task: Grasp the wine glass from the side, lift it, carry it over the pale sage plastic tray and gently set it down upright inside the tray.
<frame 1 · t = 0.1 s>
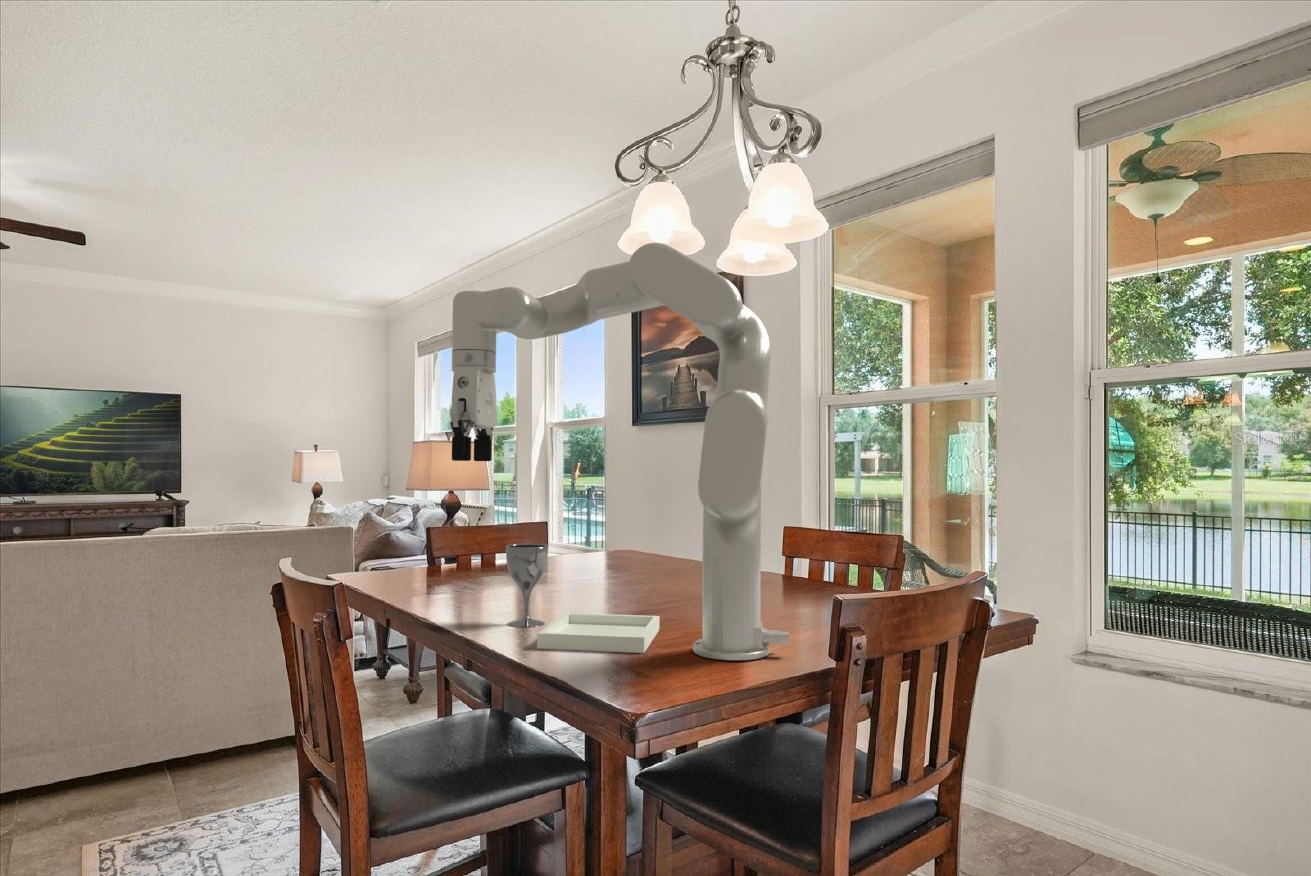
hand: (472, 460, 133), 31 cm above the table, tool pointing down, fingers open, 9 cm apart
wine glass: (526, 624, 146), on the table
tray: (601, 638, 134), on the table
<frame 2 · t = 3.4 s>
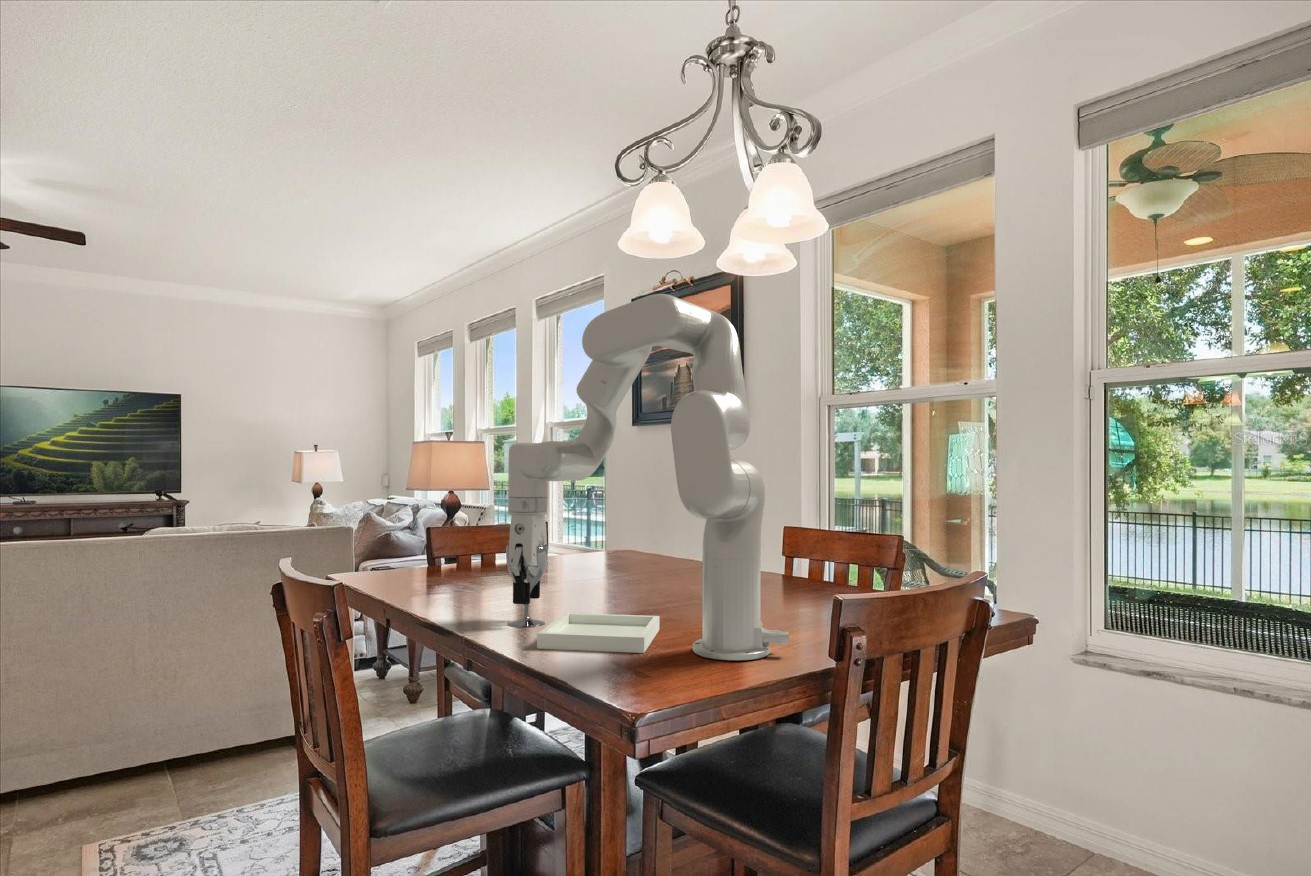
hand: (526, 600, 147), 4 cm above the table, tool pointing down, fingers closed on wine glass, 5 cm apart
wine glass: (526, 624, 146), on the table, touching gripper
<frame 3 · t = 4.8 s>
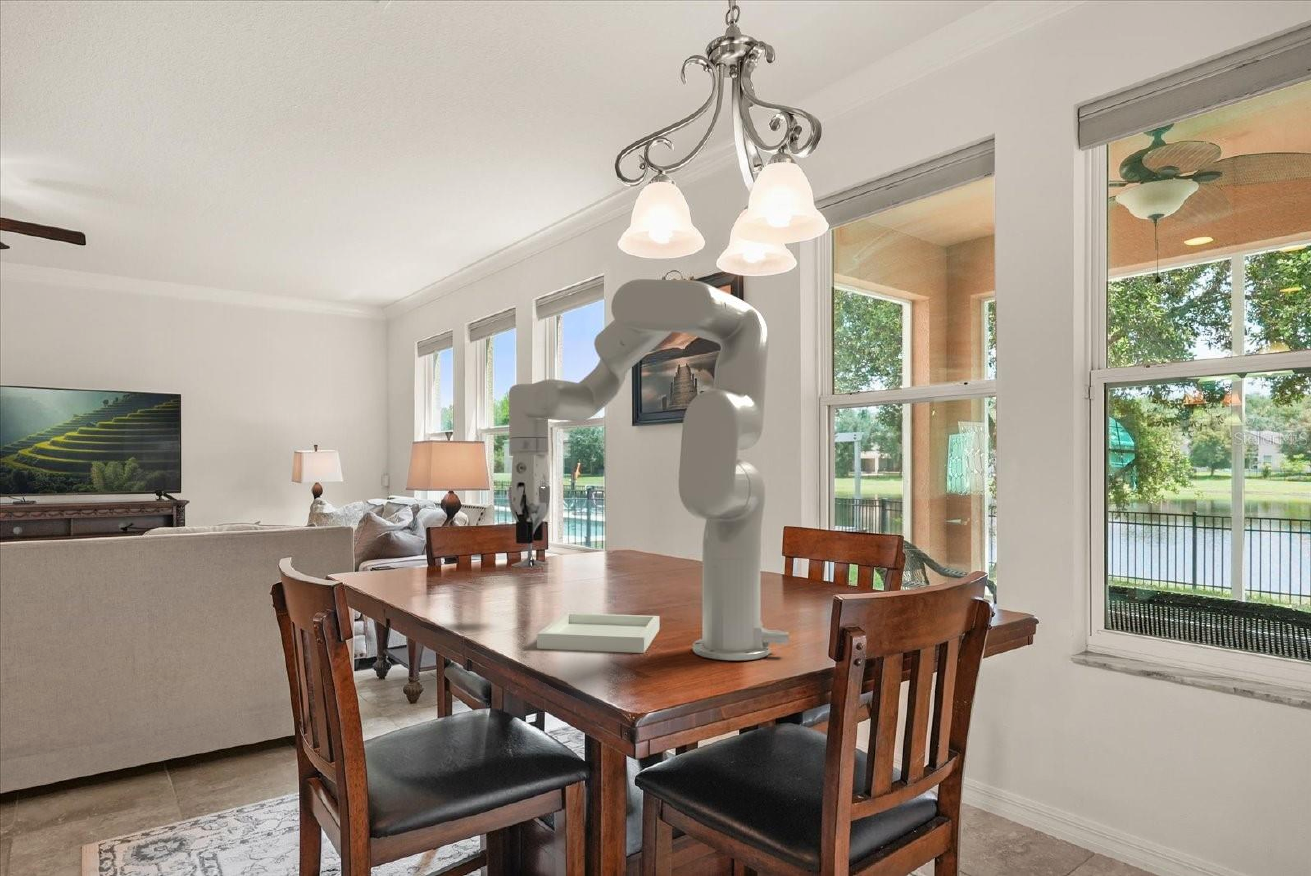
hand: (529, 540, 147), 16 cm above the table, tool pointing down, fingers closed on wine glass, 5 cm apart
wine glass: (530, 565, 146), point 11 cm above the table, touching gripper
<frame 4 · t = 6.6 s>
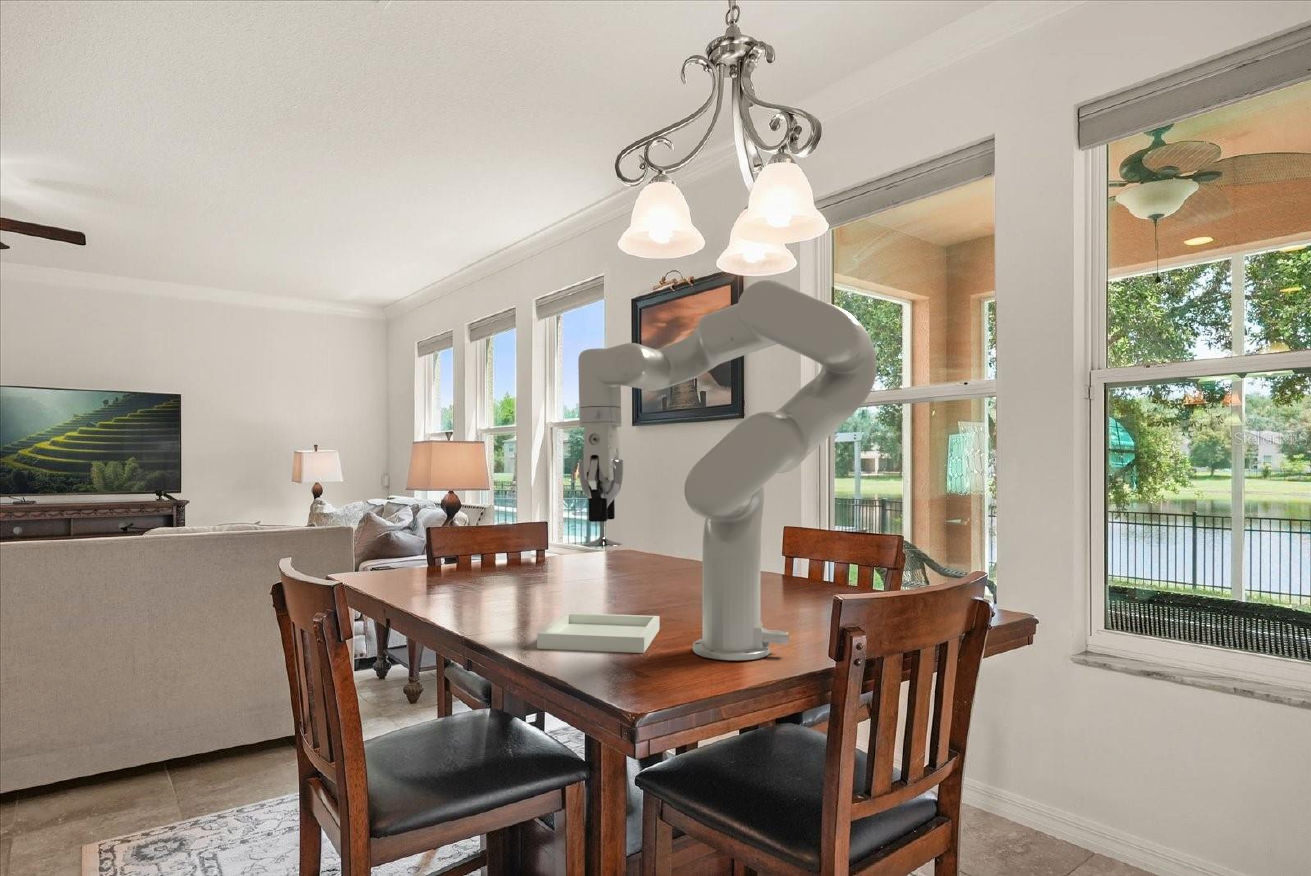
hand: (602, 519, 135), 21 cm above the table, tool pointing down, fingers closed on wine glass, 5 cm apart
wine glass: (602, 545, 135), point 16 cm above the table, touching gripper
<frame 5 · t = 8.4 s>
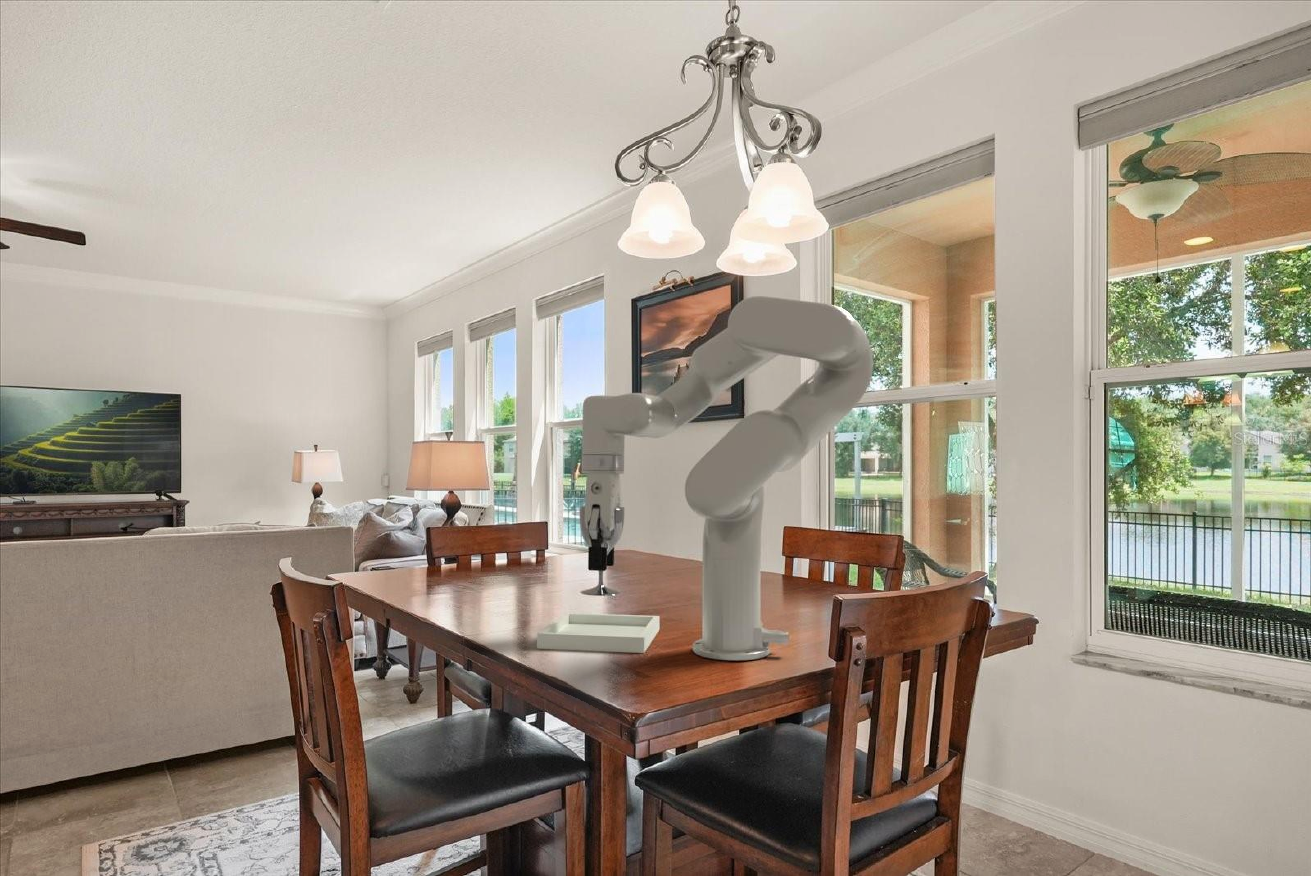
hand: (601, 566, 135), 13 cm above the table, tool pointing down, fingers closed on wine glass, 5 cm apart
wine glass: (600, 593, 134), point 8 cm above the table, touching gripper
when the fingers open (7 cm above the table, at t = 9.9 s): wine glass drops 2 cm, resting on tray.
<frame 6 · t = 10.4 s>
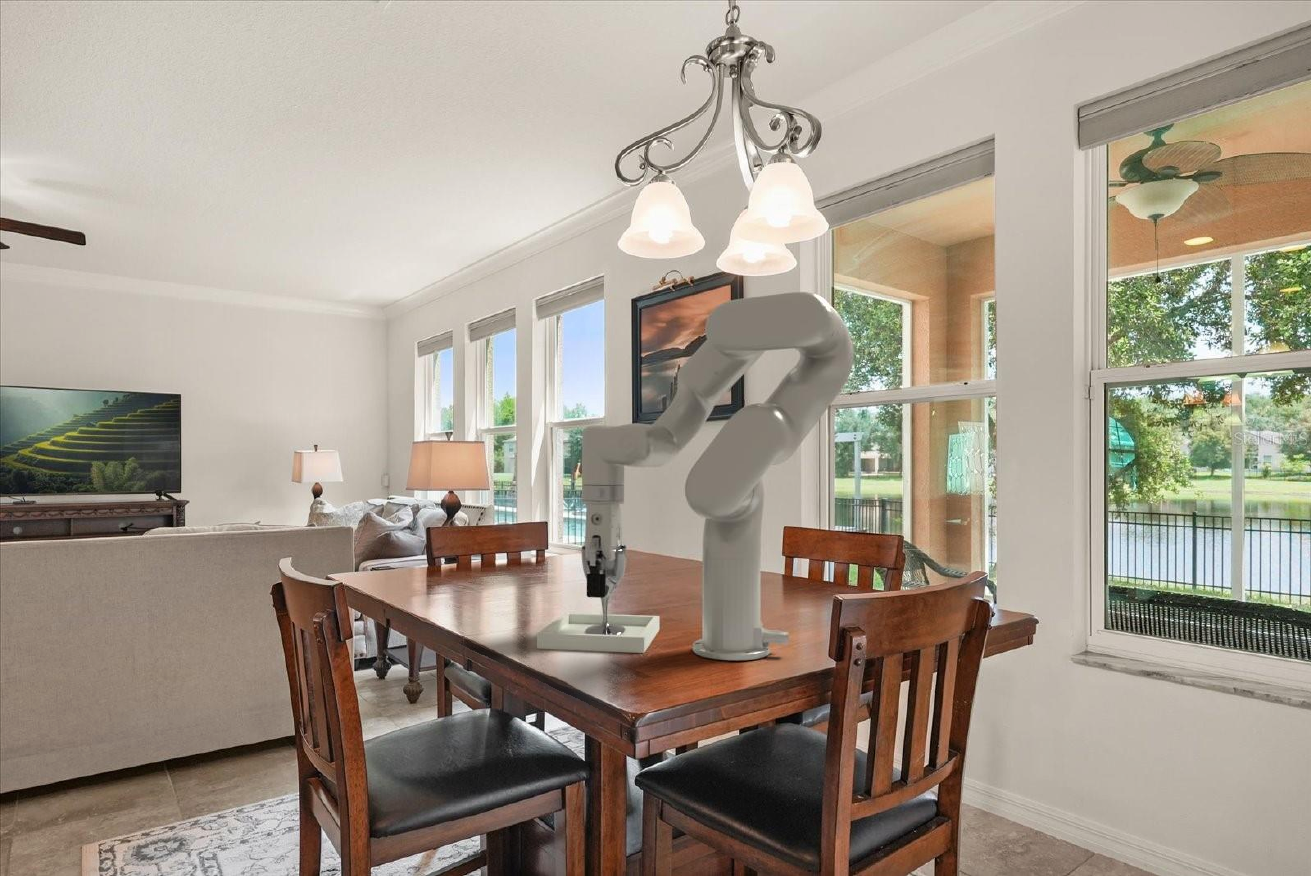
hand: (602, 592, 134), 8 cm above the table, tool pointing down, fingers open, 9 cm apart
wine glass: (605, 631, 136), point 1 cm above the table, touching gripper, tray
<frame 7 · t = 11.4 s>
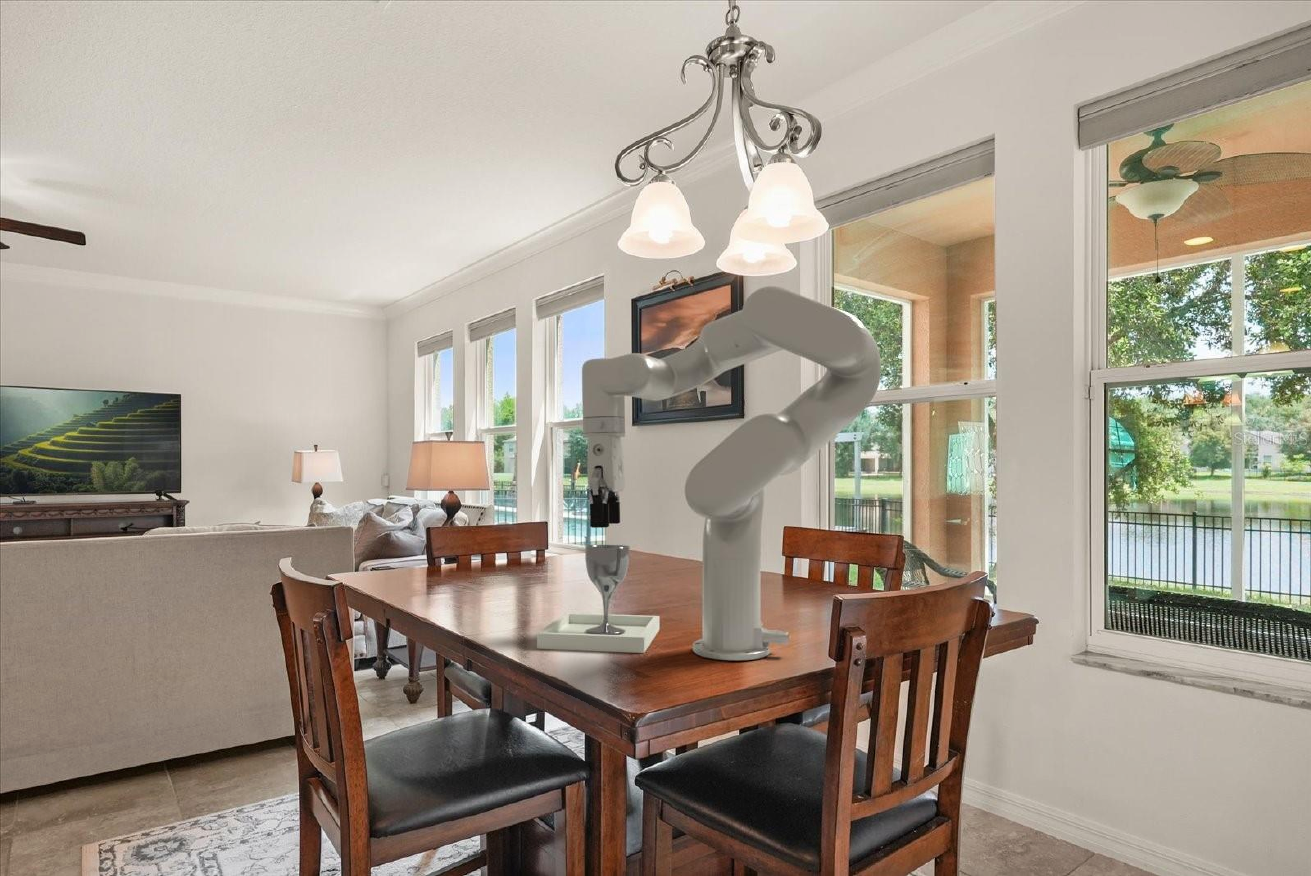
hand: (605, 525, 135), 20 cm above the table, tool pointing down, fingers open, 9 cm apart
wine glass: (605, 631, 136), point 1 cm above the table, touching tray
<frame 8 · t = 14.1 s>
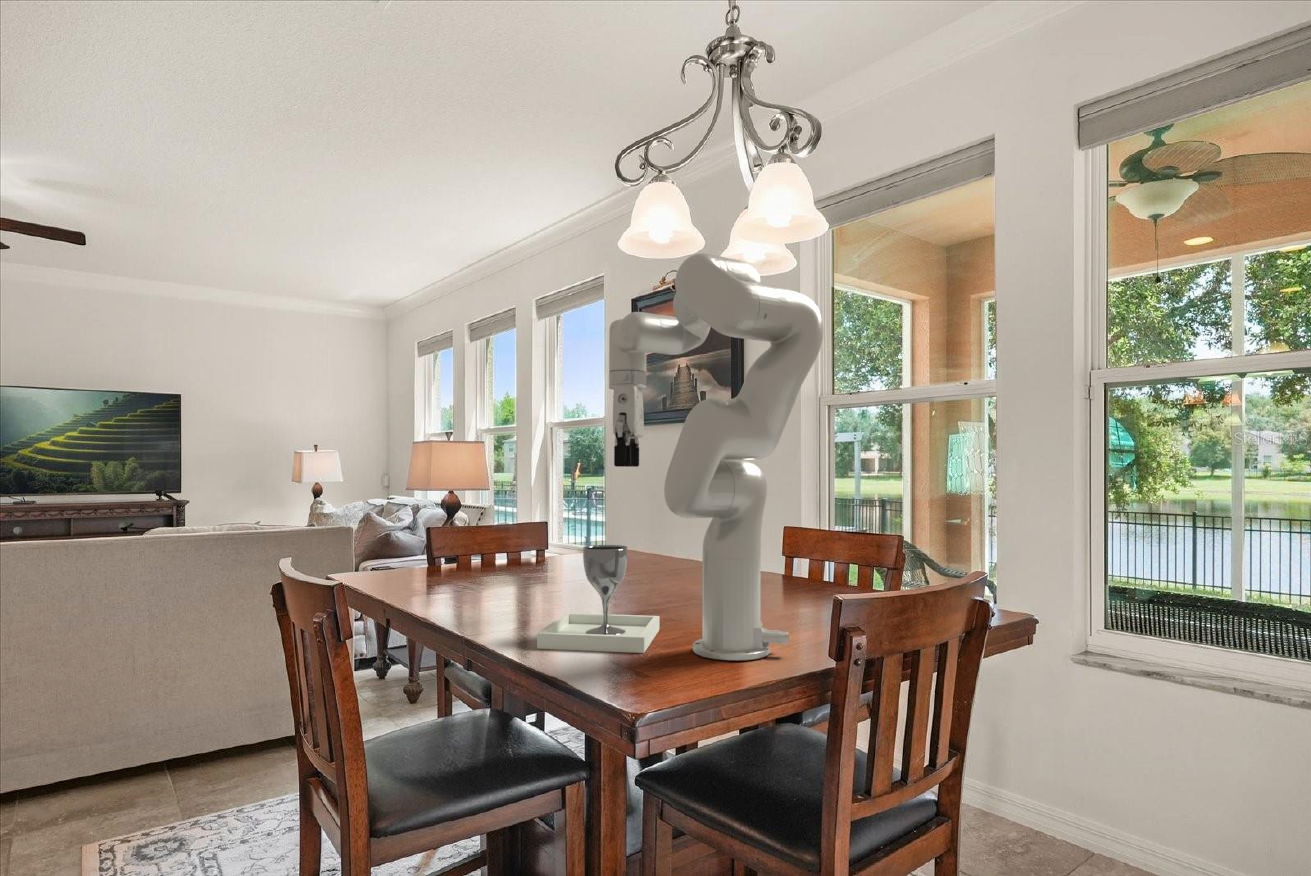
hand: (627, 466, 153), 30 cm above the table, tool pointing down, fingers open, 9 cm apart
at the end: wine glass inside the target area on the tray (1.8 cm from its centre), point 0.6 cm above the tray's base; wine glass tilted 1°; the gripper is holding nothing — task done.
